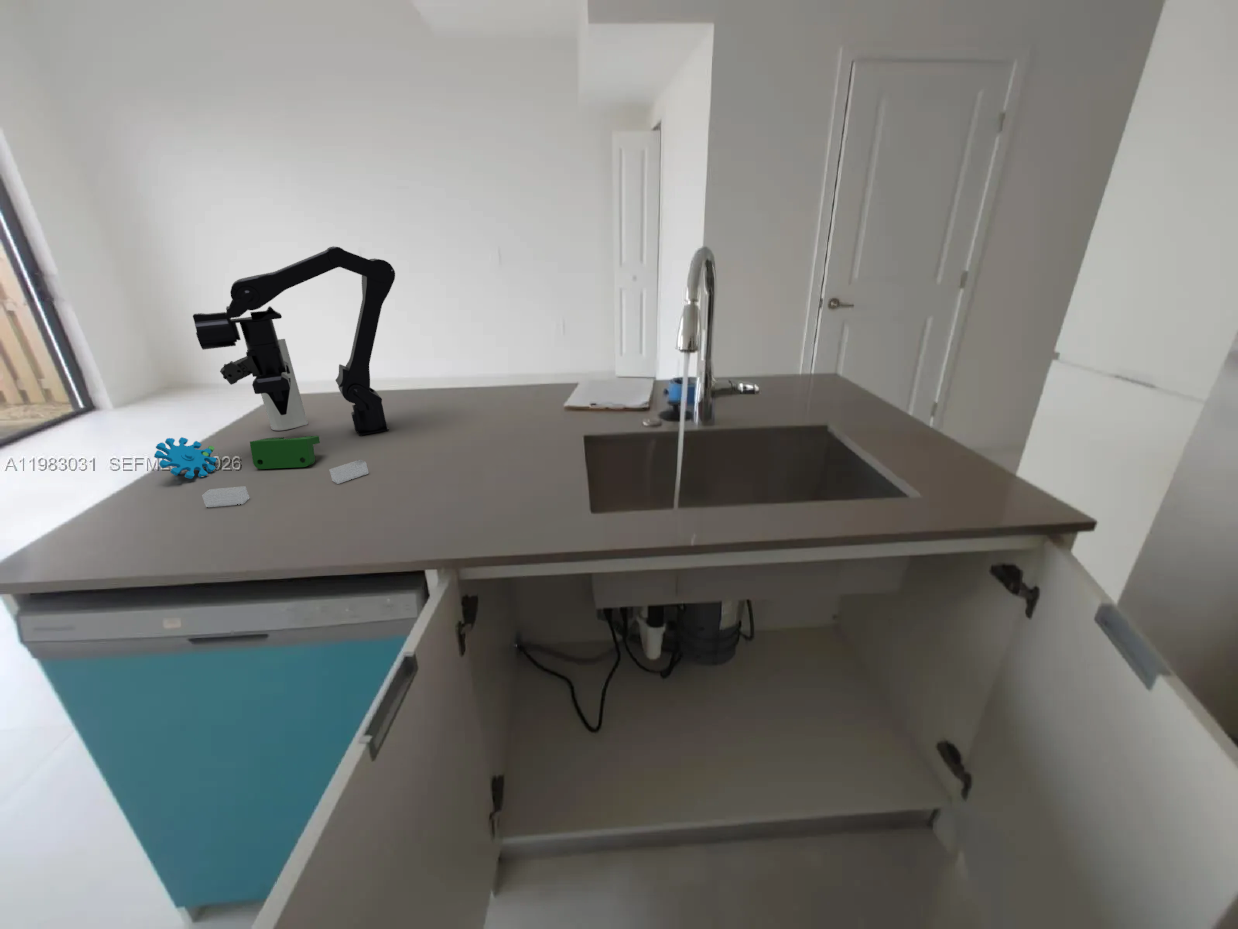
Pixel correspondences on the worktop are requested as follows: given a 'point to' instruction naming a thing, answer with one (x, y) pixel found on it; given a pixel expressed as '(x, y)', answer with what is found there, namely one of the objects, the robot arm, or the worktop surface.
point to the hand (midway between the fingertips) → (283, 414)
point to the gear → (185, 457)
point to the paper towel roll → (295, 405)
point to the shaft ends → (241, 495)
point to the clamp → (283, 452)
